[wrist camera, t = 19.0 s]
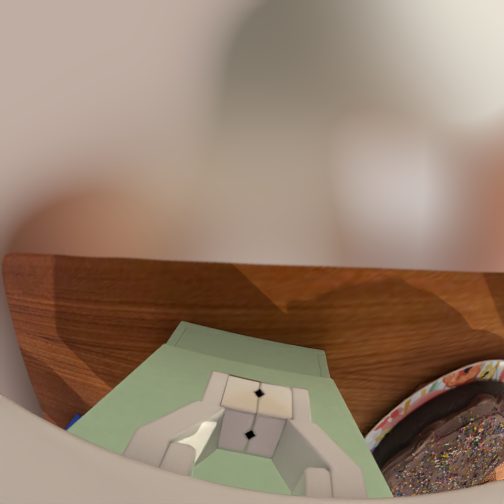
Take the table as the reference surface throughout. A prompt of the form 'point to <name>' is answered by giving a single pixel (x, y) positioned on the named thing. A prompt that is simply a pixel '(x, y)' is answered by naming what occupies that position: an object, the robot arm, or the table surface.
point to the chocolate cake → (443, 432)
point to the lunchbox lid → (191, 389)
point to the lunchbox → (250, 350)
